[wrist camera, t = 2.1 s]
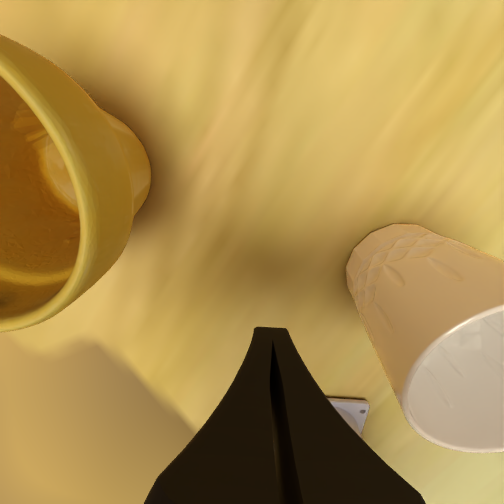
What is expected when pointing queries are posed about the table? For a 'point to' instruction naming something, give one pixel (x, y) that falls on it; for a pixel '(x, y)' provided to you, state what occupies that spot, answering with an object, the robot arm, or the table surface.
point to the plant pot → (59, 188)
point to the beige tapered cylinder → (436, 331)
